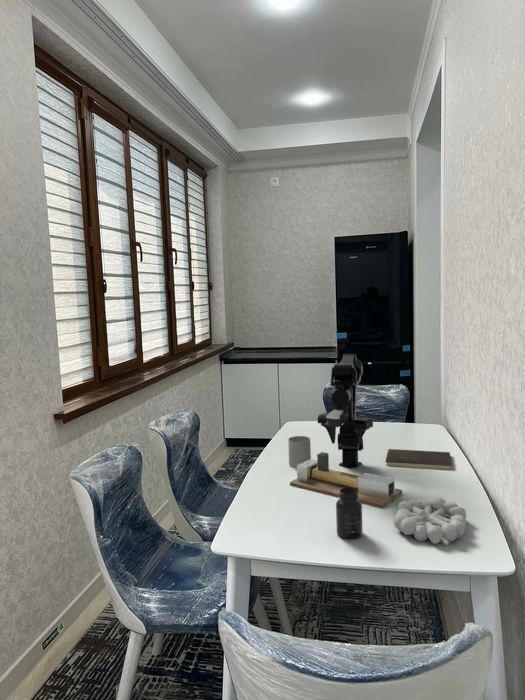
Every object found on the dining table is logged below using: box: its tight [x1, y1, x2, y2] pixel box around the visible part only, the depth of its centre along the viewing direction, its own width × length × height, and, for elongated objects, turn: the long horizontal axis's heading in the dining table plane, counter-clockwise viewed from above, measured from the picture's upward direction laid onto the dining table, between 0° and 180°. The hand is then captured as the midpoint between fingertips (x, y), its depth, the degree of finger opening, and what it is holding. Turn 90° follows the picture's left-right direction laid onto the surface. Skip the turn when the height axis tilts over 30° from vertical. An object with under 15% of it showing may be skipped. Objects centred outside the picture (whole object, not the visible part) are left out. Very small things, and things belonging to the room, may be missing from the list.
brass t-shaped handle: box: [310, 451, 361, 488], centre depth 167 cm, size 3×22×8 cm, turn 51°
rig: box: [296, 458, 396, 500], centre depth 166 cm, size 8×32×5 cm, turn 51°
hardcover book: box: [384, 448, 453, 470], centre depth 191 cm, size 16×23×2 cm
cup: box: [287, 435, 312, 469], centre depth 191 cm, size 8×8×10 cm
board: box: [289, 478, 403, 509], centre depth 166 cm, size 14×34×1 cm, turn 51°
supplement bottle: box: [335, 488, 363, 541], centre depth 134 cm, size 7×7×12 cm
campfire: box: [393, 496, 467, 545], centre depth 137 cm, size 22×21×6 cm
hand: (345, 445), depth 174 cm, fingers open, 9 cm apart
